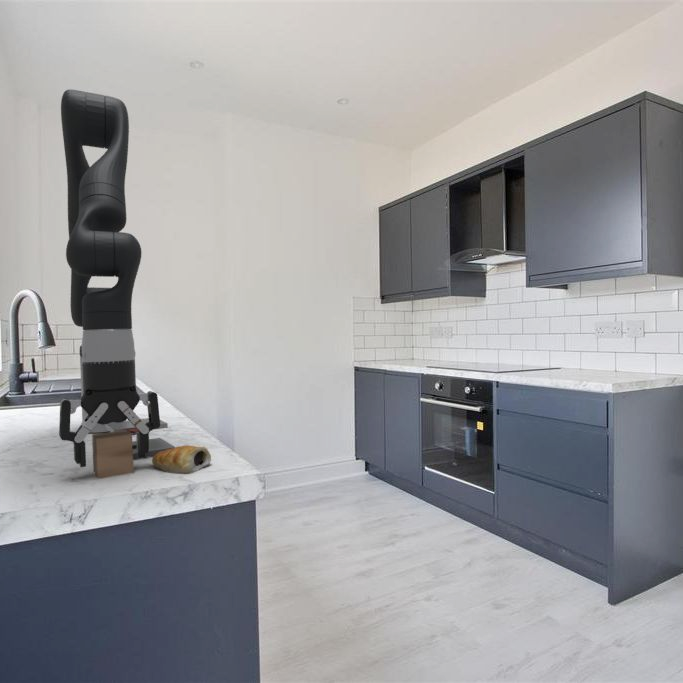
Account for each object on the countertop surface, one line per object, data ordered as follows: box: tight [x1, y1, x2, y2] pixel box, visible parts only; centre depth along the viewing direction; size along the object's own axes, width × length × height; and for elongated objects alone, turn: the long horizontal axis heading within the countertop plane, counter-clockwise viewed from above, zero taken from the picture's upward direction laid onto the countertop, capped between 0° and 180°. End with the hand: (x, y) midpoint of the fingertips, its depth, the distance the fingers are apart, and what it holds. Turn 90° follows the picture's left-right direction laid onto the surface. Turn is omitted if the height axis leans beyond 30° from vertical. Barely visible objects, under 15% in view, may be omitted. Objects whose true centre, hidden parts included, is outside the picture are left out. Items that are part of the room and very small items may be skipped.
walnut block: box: [91, 430, 134, 480], centre depth 77 cm, size 5×5×6 cm
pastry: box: [151, 444, 212, 474], centre depth 79 cm, size 9×7×4 cm
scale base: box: [132, 423, 176, 460], centre depth 91 cm, size 11×11×6 cm
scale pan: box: [105, 417, 169, 436], centre depth 90 cm, size 11×9×2 cm
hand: (112, 461), depth 77 cm, fingers open, 8 cm apart
